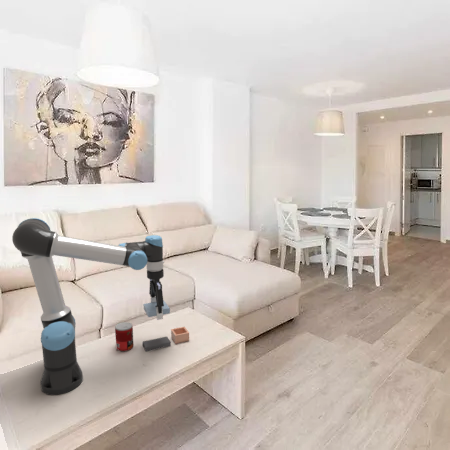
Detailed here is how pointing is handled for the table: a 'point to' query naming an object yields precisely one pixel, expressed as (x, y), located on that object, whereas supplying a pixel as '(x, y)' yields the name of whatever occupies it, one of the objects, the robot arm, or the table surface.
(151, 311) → the blue square slab
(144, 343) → the block
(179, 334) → the open box
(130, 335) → the canned food
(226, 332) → the table surface
